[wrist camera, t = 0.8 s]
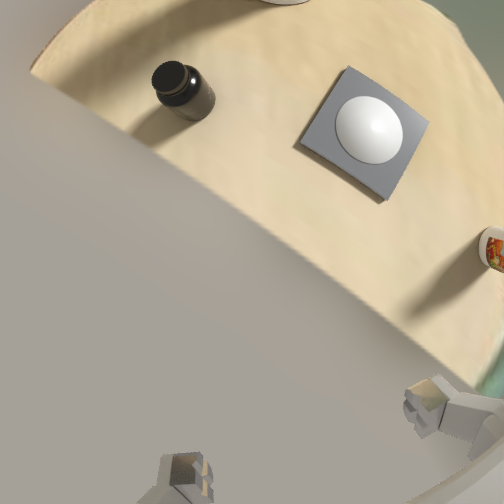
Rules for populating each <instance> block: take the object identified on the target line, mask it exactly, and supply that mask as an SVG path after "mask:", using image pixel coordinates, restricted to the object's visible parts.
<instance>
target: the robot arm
mask: <svg viewBox="0 0 504 504" xmlns="http://www.w3.org/2000/svg"><path fill="white" fill-rule="evenodd" d="M262 1H265V2H269V3H274V4H297V3H302V2H306V1H308V0H262ZM404 396H405V397H406V400H405V401H404V403H403V410H404V414H405V416H406V418H407V420H408V421H409V422H411V423H414V424H415V427H414V430H415V431H416V432H417V434H418V435H419V436H420V438H421V439H423V438H424V437H426V436H428V435H430V434H432V433H434V432H435V431H437V430H439V431H441V432H444V433H446V434H449V435H451V436H454V437H456V438H459V439H461V440H464V441H467V442H470V443H472V446H471V448H470V450H469V451H468V454H467V456H468V458H469V459H470V460H471V463H469V464H468V465H466V466H465V467H464V468H462V469H461V470H460V471H458V472H456V473H455V474H454V475H452V476H451V477H449V478H447V479H446V480H444V481H443V482H441V483H440V484H438V485H436V486H435V487H433V488H431V489H430V490H428V491H426V492H424V493H423V494H421V495H419V496H417V497H415V498H413V499H411V500H409V501H407V502H406V503H404V504H504V400H502V399H496V398H490V397H485V396H479V395H474V394H469V393H464V392H462V393H460V394H459V393H458V392H457V391H456V390H455V389H454V388H453V387H452V386H451V385H450V384H449V383H448V382H447V381H446V380H445V379H444V378H443V377H442V376H441V375H440V374H438V373H435V374H433V375H432V376H430V377H428V378H426V379H424V380H422V381H420V382H419V383H417V384H415V385H413V386H411V387H409V388H407V389H406V390H405V394H404ZM212 482H213V473H212V469H211V467H210V465H209V463H208V462H207V461H204V460H203V455H202V454H201V453H200V452H191V453H178V454H163V455H162V456H161V459H160V465H159V471H158V478H157V484H156V486H152V488H151V489H150V490H149V491H148V492H147V493H146V494H145V495H144V496H143V497H142V498H141V499H140V500H139V501H138V502H137V503H136V504H209V503H214V500H213V499H214V498H213V489H212V488H211V487H210V485H211V484H212Z"/></svg>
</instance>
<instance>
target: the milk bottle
mask: <svg viewBox="0 0 504 504" xmlns="http://www.w3.org/2000/svg"><path fill="white" fill-rule="evenodd" d="M479 256H480V258H481V260H482V262H483V263H484V264H485V265H487V266H489V267H491V268H493V269H495V270H497V271H500V272H502V273H504V228H502V227H497V226H491V227H489V228H487V229H486V230H485V231H484V232H483V234H482V235H481V238H480V241H479Z"/></svg>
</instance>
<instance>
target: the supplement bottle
mask: <svg viewBox="0 0 504 504" xmlns="http://www.w3.org/2000/svg"><path fill="white" fill-rule="evenodd" d="M152 86H153V87H154V89H155V90H156V95H157V98H158V99H159V101H160V102H161V103H162V104H163V105H165V106H166V107H168V108H169V109H170V110H172V111H173V112H175V113H176V114H178V115H179V116H181V117H182V118H184V119H186V120H199V119H202V118H204V117H205V116H207V115H208V114H209V113H210V112H211V111H212V109H213V107H214V105H215V94H214V91H213V90H212V88H211V87H210V86H209V84H208V83H207V82H206V80H205V79H204V78H203V76H202V75H201V74H200V72H199V71H198V70H197V69H195V68H194V67H192V66H189V65H183V64H182V63H180V62H177V61H168V62H165V63H163V64H162V65H160V66H159V67H158V68H157V69H156V70H155V72H154V73H153V76H152Z"/></svg>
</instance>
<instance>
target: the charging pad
mask: <svg viewBox="0 0 504 504" xmlns="http://www.w3.org/2000/svg"><path fill="white" fill-rule="evenodd" d="M428 124H429V122H428V121H427V120H426V119H425V118H424V117H422V116H421V115H420V114H419V113H417V112H416V111H415V110H414V109H412V108H411V107H410V106H408V105H407V104H406V103H404V102H403V101H402V100H400V99H399V98H398V97H396V96H395V95H394V94H392V93H391V92H389V91H388V90H386V89H385V88H383V87H382V86H381V85H379V84H378V83H376V82H374V81H373V80H371V79H370V78H368V77H367V76H365V75H364V74H362V73H360V72H359V71H357V70H355V69H354V68H352V67H350V66H349V65H348V67H347V68H346V70H345V72H344V73H343V75H342V76H341V78H340V79H339V81H338V83H337V84H336V86H335V87H334V89H333V90H332V92H331V93H330V95H329V97H328V98H327V100H326V101H325V103H324V105H323V106H322V108H321V109H320V111H319V112H318V114H317V116H316V117H315V119H314V120H313V122H312V124H311V125H310V127H309V128H308V130H307V132H306V133H305V135H304V136H303V138H302V140H301V141H300V144H302V145H303V146H305V147H307V148H308V149H310V150H312V151H313V152H315V153H316V154H318V155H320V156H321V157H323V158H324V159H326V160H327V161H329V162H331V163H332V164H334V165H335V166H337V167H338V168H340V169H341V170H343V171H344V172H346V173H347V174H349V175H350V176H352V177H353V178H355V179H356V180H357V181H359V182H360V183H362V184H363V185H365V186H366V187H367V188H369V189H370V190H372V191H373V192H374V193H376V194H377V195H378V196H380V197H381V198H383V199H384V200H386V201H388V199H389V197H390V196H391V194H392V192H393V191H394V189H395V187H396V185H397V184H398V182H399V180H400V178H401V176H402V175H403V173H404V171H405V169H406V167H407V165H408V164H409V162H410V160H411V158H412V156H413V154H414V152H415V150H416V148H417V146H418V144H419V143H420V141H421V139H422V137H423V135H424V133H425V131H426V129H427V126H428Z"/></svg>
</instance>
